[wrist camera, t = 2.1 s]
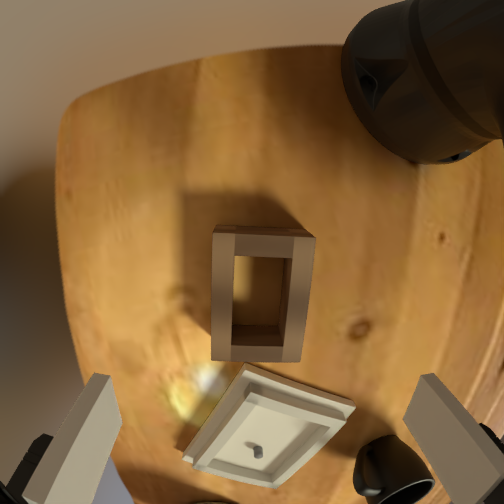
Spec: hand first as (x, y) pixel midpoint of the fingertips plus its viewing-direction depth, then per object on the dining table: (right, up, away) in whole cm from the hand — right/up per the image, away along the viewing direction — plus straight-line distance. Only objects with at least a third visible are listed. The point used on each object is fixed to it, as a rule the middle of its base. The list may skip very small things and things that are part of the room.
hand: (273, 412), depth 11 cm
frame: (0, +3, +14) cm, 15 cm away
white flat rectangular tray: (0, -13, +18) cm, 23 cm away
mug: (+15, -18, +20) cm, 31 cm away
